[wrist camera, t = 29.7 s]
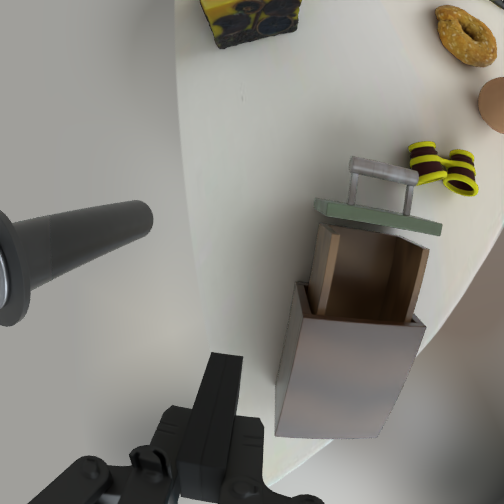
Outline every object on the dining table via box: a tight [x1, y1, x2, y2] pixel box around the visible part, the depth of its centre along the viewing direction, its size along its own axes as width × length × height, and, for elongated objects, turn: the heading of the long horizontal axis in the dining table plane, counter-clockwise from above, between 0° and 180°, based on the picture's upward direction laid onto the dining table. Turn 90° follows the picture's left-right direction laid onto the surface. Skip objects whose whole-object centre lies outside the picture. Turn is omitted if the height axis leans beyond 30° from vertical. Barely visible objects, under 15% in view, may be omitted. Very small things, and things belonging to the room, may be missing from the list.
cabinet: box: [275, 282, 426, 439], centre depth 31 cm, size 16×13×10 cm
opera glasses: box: [408, 141, 479, 196], centre depth 28 cm, size 10×5×5 cm, turn 87°
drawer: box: [307, 156, 442, 323], centre depth 28 cm, size 19×12×8 cm, turn 173°
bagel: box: [435, 5, 497, 67], centre depth 23 cm, size 10×11×5 cm
